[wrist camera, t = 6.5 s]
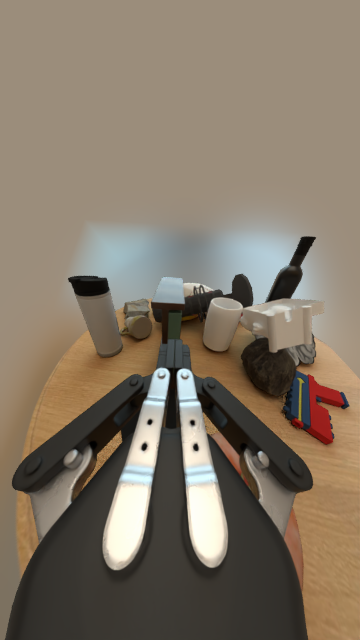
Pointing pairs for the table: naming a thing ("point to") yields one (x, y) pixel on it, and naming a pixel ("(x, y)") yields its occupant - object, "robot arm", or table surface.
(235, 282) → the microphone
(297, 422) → the toy gun
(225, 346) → the cup
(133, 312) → the stone
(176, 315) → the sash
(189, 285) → the bottle
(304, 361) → the brain slice
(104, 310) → the travel mug
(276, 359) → the rock
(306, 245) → the wine bottle
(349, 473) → the table surface
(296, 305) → the white plastic housing
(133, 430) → the smartphone
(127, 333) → the mug
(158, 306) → the window frame
